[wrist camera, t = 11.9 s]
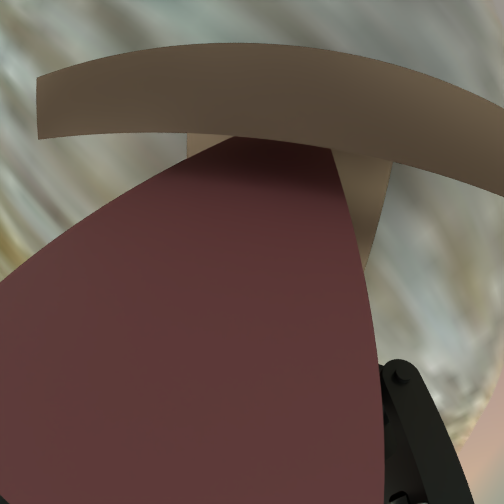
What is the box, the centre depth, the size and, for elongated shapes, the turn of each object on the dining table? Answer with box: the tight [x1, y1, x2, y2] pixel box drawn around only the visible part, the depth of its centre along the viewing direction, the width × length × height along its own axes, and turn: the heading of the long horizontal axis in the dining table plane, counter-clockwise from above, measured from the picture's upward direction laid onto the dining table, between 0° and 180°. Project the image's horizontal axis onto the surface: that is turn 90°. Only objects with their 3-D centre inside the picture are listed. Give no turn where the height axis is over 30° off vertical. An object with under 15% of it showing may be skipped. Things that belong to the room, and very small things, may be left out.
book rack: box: [36, 43, 504, 272], centre depth 14 cm, size 17×13×13 cm
